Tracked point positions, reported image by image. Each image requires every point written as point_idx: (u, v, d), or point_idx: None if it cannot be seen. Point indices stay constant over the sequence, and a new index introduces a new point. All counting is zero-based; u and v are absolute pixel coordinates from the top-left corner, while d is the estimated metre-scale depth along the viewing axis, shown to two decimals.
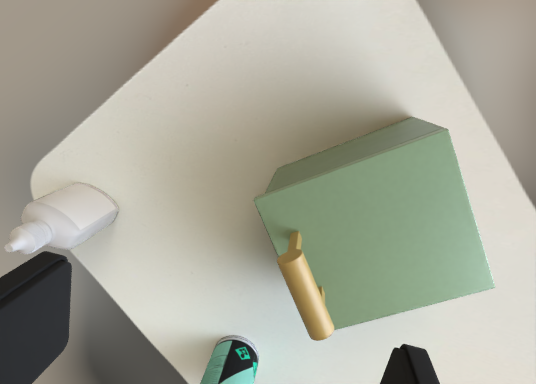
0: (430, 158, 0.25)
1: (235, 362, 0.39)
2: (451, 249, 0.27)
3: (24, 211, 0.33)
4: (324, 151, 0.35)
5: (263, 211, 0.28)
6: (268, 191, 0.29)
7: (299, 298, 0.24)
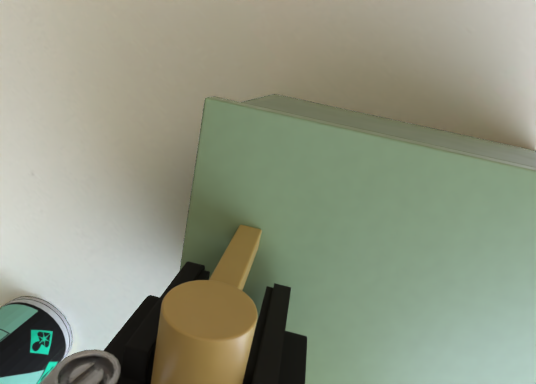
0: None
1: (12, 354, 0.21)
2: None
3: None
4: (369, 115, 0.18)
5: (211, 138, 0.11)
6: (249, 103, 0.11)
7: None
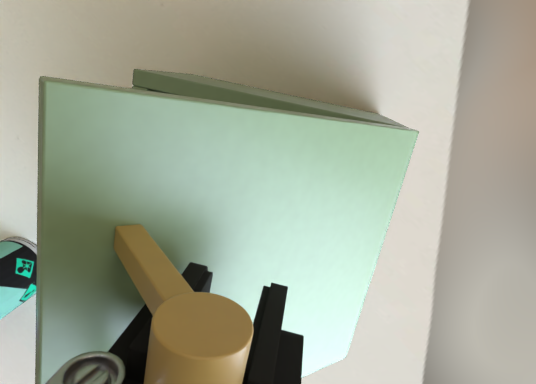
0: (388, 163, 0.16)
1: (2, 272, 0.28)
2: (339, 303, 0.18)
3: None
4: (258, 88, 0.25)
5: (62, 133, 0.08)
6: (140, 70, 0.18)
7: None
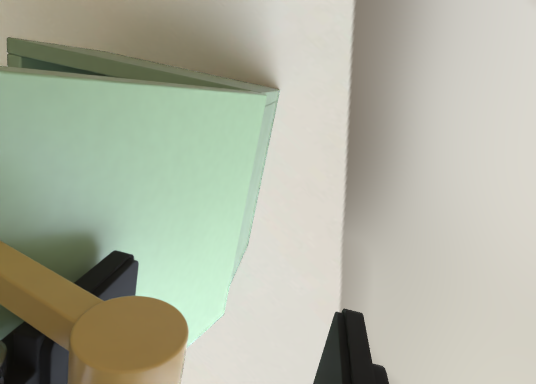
0: (245, 127, 0.17)
1: None
2: (214, 268, 0.18)
3: None
4: (162, 64, 0.26)
5: None
6: (14, 38, 0.19)
7: None
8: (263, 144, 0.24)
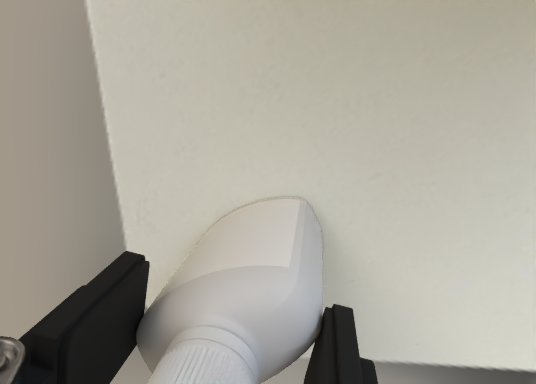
0: None
1: None
2: None
3: (143, 354, 0.11)
4: None
5: None
6: None
7: None
8: None
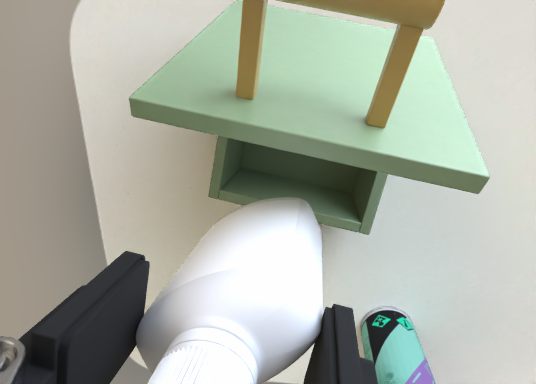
0: None
1: (377, 335, 0.35)
2: (368, 35, 0.22)
3: (142, 355, 0.11)
4: None
5: (162, 98, 0.13)
6: (209, 192, 0.29)
7: None
8: None
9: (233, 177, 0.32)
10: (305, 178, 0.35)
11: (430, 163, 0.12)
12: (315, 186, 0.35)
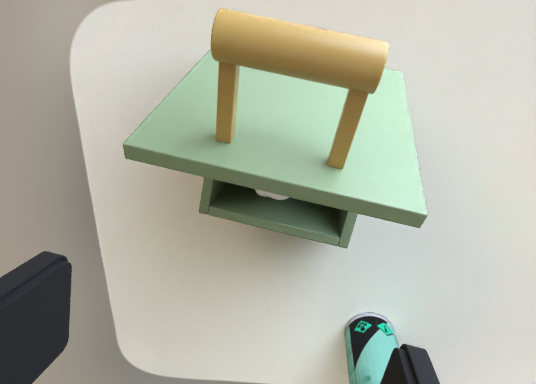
0: None
1: (358, 339, 0.37)
2: None
3: None
4: None
5: (151, 144, 0.15)
6: None
7: (291, 28, 0.13)
8: None
9: (223, 192, 0.34)
10: None
11: (377, 202, 0.14)
12: (300, 200, 0.37)
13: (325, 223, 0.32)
